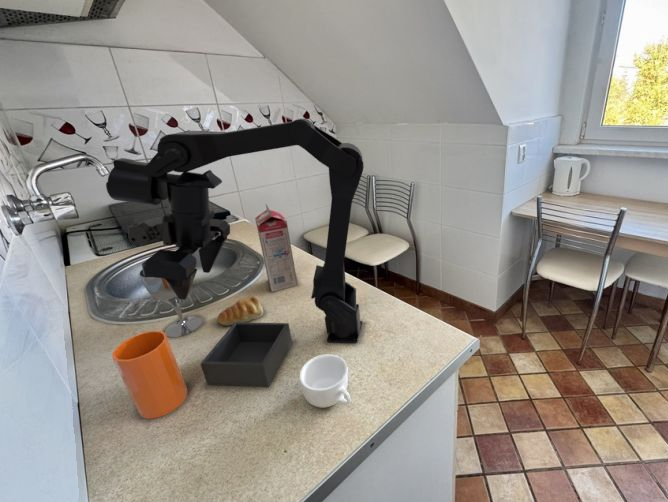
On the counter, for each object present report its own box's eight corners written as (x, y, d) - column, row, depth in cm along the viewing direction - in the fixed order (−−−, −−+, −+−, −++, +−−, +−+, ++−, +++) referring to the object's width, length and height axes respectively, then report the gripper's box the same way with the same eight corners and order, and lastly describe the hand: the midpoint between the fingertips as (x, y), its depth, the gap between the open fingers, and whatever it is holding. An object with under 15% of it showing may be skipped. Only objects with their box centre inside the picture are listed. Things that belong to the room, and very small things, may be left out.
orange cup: (196, 385, 57) (176, 331, 52) (169, 419, 51) (143, 361, 46) (160, 384, 57) (137, 330, 53) (128, 418, 51) (99, 360, 47)
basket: (292, 342, 67) (288, 323, 65) (269, 387, 56) (263, 365, 55) (240, 341, 67) (234, 322, 65) (207, 385, 57) (200, 363, 55)
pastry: (222, 333, 70) (218, 318, 68) (216, 318, 75) (211, 304, 73) (266, 315, 75) (263, 302, 74) (257, 303, 80) (254, 290, 79)
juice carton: (272, 291, 85) (255, 212, 76) (268, 280, 90) (252, 205, 81) (297, 284, 88) (284, 208, 79) (292, 274, 93) (279, 201, 84)
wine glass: (183, 313, 77) (164, 257, 71) (212, 317, 75) (194, 260, 69) (153, 336, 69) (129, 275, 64) (184, 340, 68) (162, 279, 62)
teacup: (294, 397, 54) (289, 373, 52) (330, 370, 60) (327, 347, 58) (332, 433, 48) (328, 407, 46) (368, 398, 54) (366, 374, 52)
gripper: (168, 185, 62) (175, 256, 68) (93, 221, 45) (111, 311, 51) (230, 194, 64) (231, 262, 70) (180, 232, 47) (188, 318, 53)
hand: (195, 284), depth 61 cm, fingers open, 9 cm apart
